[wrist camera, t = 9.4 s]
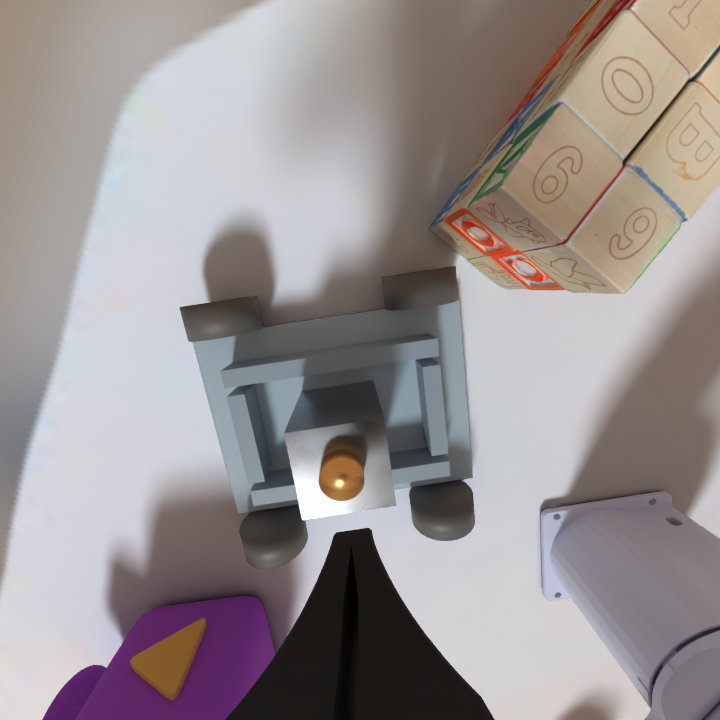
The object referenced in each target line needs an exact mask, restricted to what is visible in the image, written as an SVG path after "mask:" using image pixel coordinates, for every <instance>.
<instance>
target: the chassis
mask: <svg viewBox="0 0 720 720" xmlns="http://www.w3.org/2000/svg"><path fill="white" fill-rule="evenodd" d="M382 283H383V290H384V298H385V306H386V309H380V310H373V311H367V312H360V313H353V314H347V315H340V316H333V317H327V318H320V319H313V320H307V321H300V322H293V323H287V324H280V325H273V326H266V327H264V325H263V321H262V316H261V311H260V307H259V302H258V297H257V296H253V297H245V298H238V299H232V300H225V301H218V302H211V303H204V304H198V305H191V306H185V307H180V311H181V315H182V318H183V322H184V326H185V330H186V333H187V337H188V341H189V342H193V345H194V349H195V353H196V357H197V360H198V364H199V368H200V372H201V376H202V379H203V383H204V387H205V391H206V395H207V398H208V402H209V406H210V410H211V413H212V417H213V421H214V425H215V429H216V432H217V436H218V440H219V444H220V447H221V451H222V455H223V459H224V463H225V466H226V470H227V474H228V478H229V482H230V485H231V489H232V493H233V497H234V500H235V504H236V508H237V512H238V514H239V513H246V512H251V513H249V514H248V515H247V516H246V518H245V519H244V520H243V522H242V524H241V526H240V536H241V539H242V543H243V547H244V551H245V554H246V558H247V561H248V562H249V564H251V565H252V566H254V567H256V568H260V569H271V568H275V567H279V566H281V565H284V564H286V563H288V562H289V561H291V560H292V559H294V558H295V557H296V556H297V555H298V554H299V553H300V552H301V551H302V550H303V548H304V547H305V545H306V542H307V539H308V533H307V528H306V523H305V520H302V516H301V512H300V507H299V502H298V498H297V493H296V488H295V483H294V479H293V474H292V469H291V465H290V460H289V455H288V451H287V446H286V441H285V437H284V432H285V429H286V427H287V424H288V422H289V420H290V417H291V415H292V413H293V410H294V408H295V405H296V403H297V401H298V398H299V396H300V394H301V391H304V390H311V389H318V388H324V387H331V386H337V385H344V384H351V383H357V382H364V381H371V380H374V384H375V388H376V391H377V395H378V398H379V402H380V405H381V409H382V412H383V416H384V420H385V428H386V435H387V442H388V450H389V457H390V464H391V472H392V479H393V486H394V490H395V489H402V488H408V487H412V488H411V490H410V493H409V497H410V504H411V512H412V520H413V524H414V526H415V528H416V529H417V530H418V531H419V532H420V533H421V534H423V535H425V536H426V537H429V538H431V539H434V540H440V541H451V540H457V539H460V538H462V537H464V536H466V535H467V534H468V533H470V532H471V530H472V529H473V527H474V524H475V515H474V502H473V492H472V490H471V488H470V487H469V486H468V485H467V484H466V483H465V482H463V481H461V479H467V478H473V474H472V461H471V448H470V435H469V421H468V408H467V395H466V382H465V368H464V355H463V342H462V329H461V315H460V302H459V299H458V292H457V278H456V266H453V267H446V268H439V269H433V270H426V271H419V272H413V273H406V274H399V275H393V276H387V277H382Z"/></svg>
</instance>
